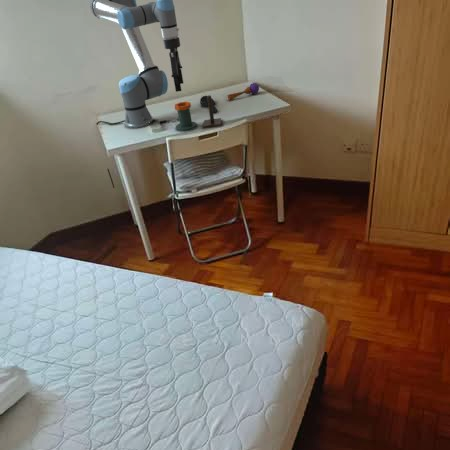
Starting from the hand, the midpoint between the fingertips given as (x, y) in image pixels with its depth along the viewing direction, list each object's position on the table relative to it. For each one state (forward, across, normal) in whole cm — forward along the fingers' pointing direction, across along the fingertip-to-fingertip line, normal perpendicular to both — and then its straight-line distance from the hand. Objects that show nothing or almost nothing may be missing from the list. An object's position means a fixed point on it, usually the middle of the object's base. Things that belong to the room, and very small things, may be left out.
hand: (179, 87), depth 207 cm
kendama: (+20, +41, -32) cm, 56 cm away
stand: (+20, 0, 0) cm, 20 cm away
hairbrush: (+20, +29, -12) cm, 37 cm away
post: (+20, 0, -14) cm, 24 cm away
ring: (+10, 0, 0) cm, 10 cm away
